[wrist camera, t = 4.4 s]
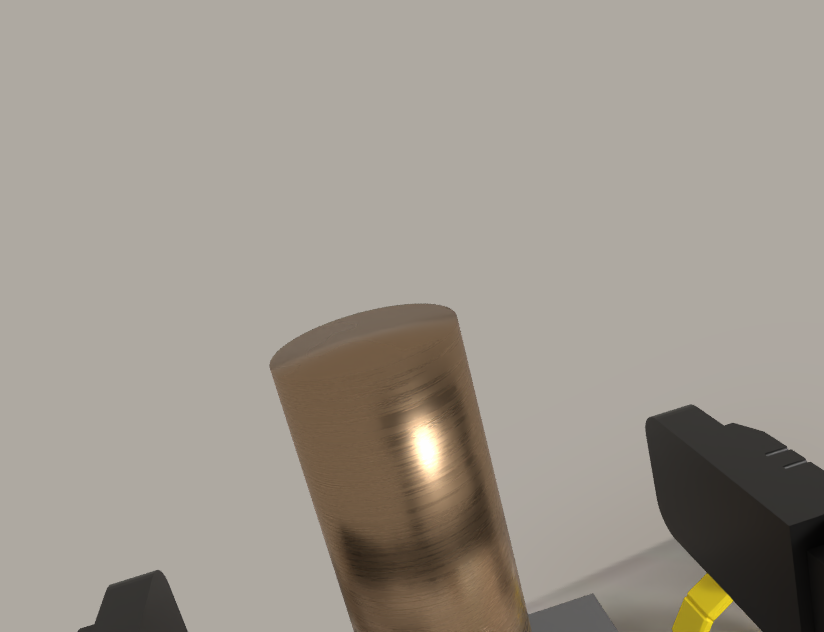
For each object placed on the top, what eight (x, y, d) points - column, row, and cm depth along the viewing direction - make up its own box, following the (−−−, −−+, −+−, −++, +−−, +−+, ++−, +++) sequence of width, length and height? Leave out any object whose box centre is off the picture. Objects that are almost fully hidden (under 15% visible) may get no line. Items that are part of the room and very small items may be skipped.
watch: (810, 651, 29) (807, 513, 27) (867, 703, 26) (866, 555, 25) (666, 696, 28) (653, 557, 27) (709, 756, 26) (698, 605, 24)
